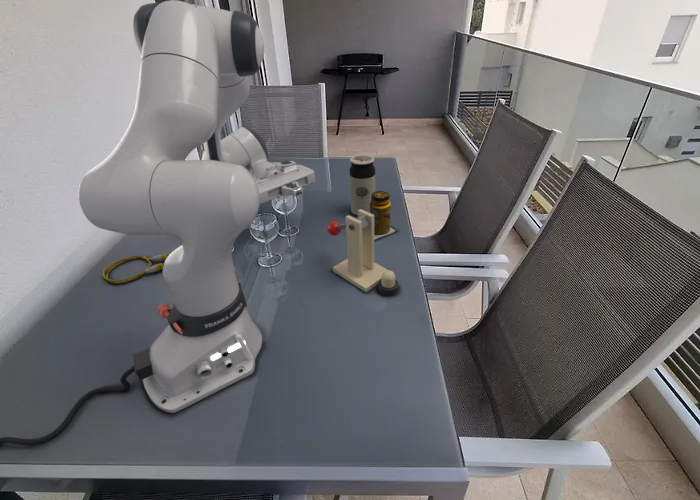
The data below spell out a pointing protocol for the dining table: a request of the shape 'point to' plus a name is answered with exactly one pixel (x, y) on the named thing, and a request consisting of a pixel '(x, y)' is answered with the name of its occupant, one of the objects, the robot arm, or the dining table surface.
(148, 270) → the extension cord
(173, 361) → the robot arm
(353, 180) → the travel mug
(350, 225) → the switch bracket
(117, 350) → the dining table surface
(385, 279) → the pilot lamp
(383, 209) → the condiment
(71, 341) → the dining table surface
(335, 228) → the switch lever
